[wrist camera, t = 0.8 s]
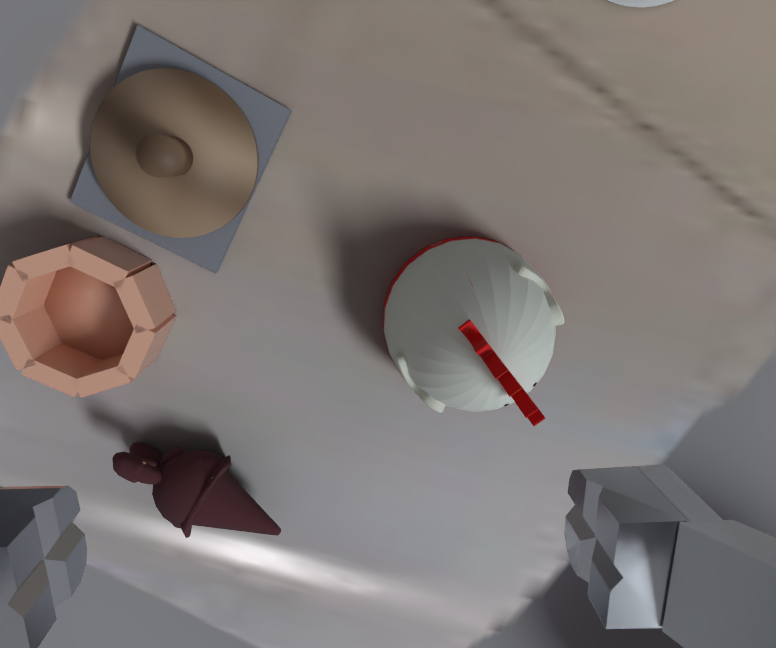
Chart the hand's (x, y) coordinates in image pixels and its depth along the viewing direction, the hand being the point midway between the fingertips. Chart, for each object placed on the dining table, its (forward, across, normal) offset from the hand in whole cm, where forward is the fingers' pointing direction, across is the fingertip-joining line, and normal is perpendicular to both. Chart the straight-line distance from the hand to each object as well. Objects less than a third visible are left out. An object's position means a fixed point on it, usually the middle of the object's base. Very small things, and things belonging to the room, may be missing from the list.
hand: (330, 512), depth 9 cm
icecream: (+38, +13, +21) cm, 45 cm away
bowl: (+38, +20, +6) cm, 43 cm away
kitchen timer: (+38, -10, +7) cm, 40 cm away
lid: (+37, +13, -6) cm, 40 cm away
